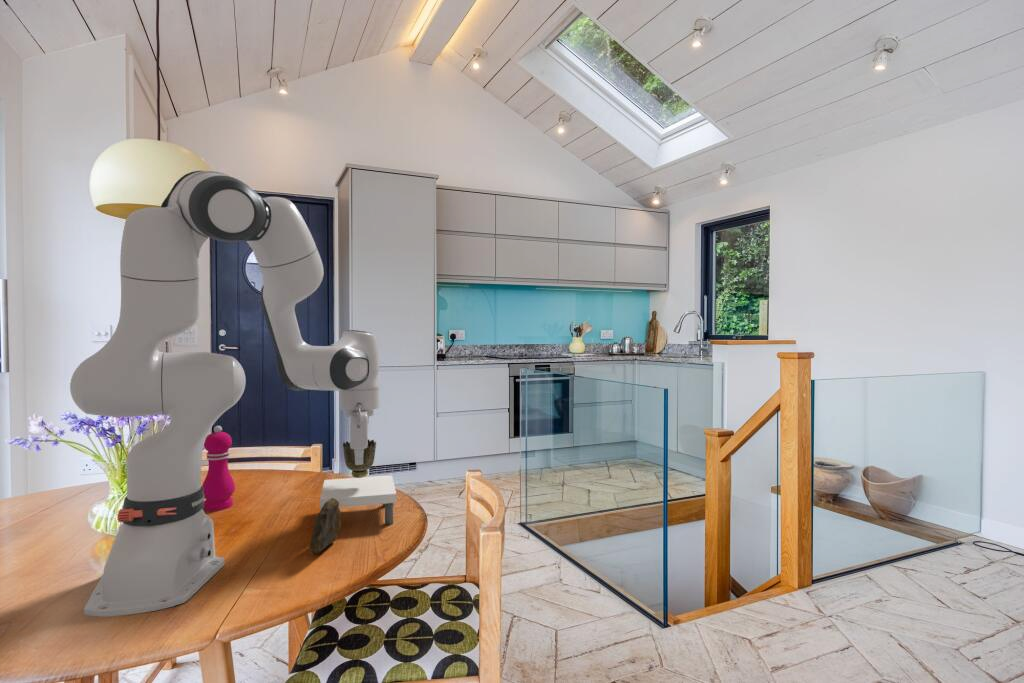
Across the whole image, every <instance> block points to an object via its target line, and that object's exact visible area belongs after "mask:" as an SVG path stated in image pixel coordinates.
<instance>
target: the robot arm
mask: <svg viewBox="0 0 1024 683" xmlns="http://www.w3.org/2000/svg"><path fill="white" fill-rule="evenodd" d="M306 223H307V222H305V219H304V218H303V216H302V214H301V212H300V211H299V209H298V208H297V205H295V204H294V203H293V202H292V201H291V200H290V199H287V198H285V197H281V196H280V197H279V196H266V197H262V196H261V195H259V193H257V192H256V191H255V190H254V189H253V188H252V187H250V186H249V185H248V184H246V183H245V182H243V181H241V180H240V179H238V178H235V177H233V176H229V175H228V174H225V173H223V172H219V171H213V170H195V171H190V172H189V173H185V174H184V175H182V176H181V177H180V178H179V179H178V180H177V181H176V182H175V183H174V185H173V186H172V188H171V190H170V191H169V193H168V194H167V196H166V197H165V199H164V200H163V202H162V203H161V206H160V207H159V206H158V207H157V206H150V207H149V206H148V207H143V208H140V209H137V210H134V211H133V212H131V213H130V214H129V215H127V218H126V219H125V222H124V226H123V231H122V237H121V244H120V257H119V259H120V260H119V267H120V268H119V270H120V273H119V274H120V309H119V310H120V312H119V317H118V318H119V319H118V323H117V326H116V328H115V331H114V333H113V334H112V335H111V337H110V338H109V340H108V341H107V342H106V344H104V345H103V347H101V348H100V349H99V350H98V351H97V352H95V353H94V354H92V355H91V356H89V357H87V358H85V359H84V360H83V361H82V362H80V364H79V365H78V366H77V367H76V369H75V370H74V372H73V373H72V375H71V379H70V384H69V385H70V386H69V391H70V394H71V395H70V396H71V397H72V400H73V402H74V403H75V405H76V406H77V407H78V409H80V411H81V412H83V413H84V414H86V415H90V416H91V415H92V416H100V417H112V418H126V417H127V418H129V417H130V418H131V417H144V416H146V417H147V416H161V415H162V416H163V415H164V416H168V417H169V418H170V420H169V423H168V424H167V426H166V427H165V428H163V429H162V430H160V431H157V432H155V433H153V434H151V435H150V436H149V435H148V436H147V437H145V438H143V439H141V441H140V440H139V441H138V442H137V443H136V444H134V446H132V448H130V451H128V453H127V456H126V496H125V497H124V499H123V505H122V508H120V509H119V510H118V511H117V515H116V518H117V522H118V523H122V524H121V525H120V526H119V527H118V531H117V533H116V536H115V539H114V541H113V543H112V546H111V548H110V551H109V554H108V556H107V559H106V562H105V565H104V568H103V573H102V575H101V577H100V578H99V580H98V583H97V584H96V585H95V588H94V589H93V591H92V593H91V595H90V597H89V598H88V600H87V602H86V604H85V605H84V607H83V614H84V615H86V616H89V617H90V616H92V617H119V616H128V615H135V614H143V613H148V612H150V613H151V612H154V611H159V610H165V609H168V608H171V607H175V606H178V605H181V604H184V603H186V602H187V601H188V600H189V599H190V598H191V597H193V595H194V594H196V592H198V591H199V590H200V589H201V588H202V587H203V586H204V585H205V584H206V583H207V582H208V581H210V579H211V578H213V577H214V576H215V575H216V573H218V572H219V571H220V570H221V569H222V568H223V567H224V566H225V564H226V563H225V562H226V561H225V558H224V557H221V556H217V555H216V547H215V546H216V545H215V532H214V531H215V530H214V529H215V528H214V520H213V519H212V518H211V517H209V516H208V515H207V514H206V513H205V510H204V501H205V500H206V499H205V496H204V490H203V487H202V460H203V458H202V457H203V450H204V443H205V439H206V437H207V436H208V435H209V432H210V430H211V429H212V427H213V426H214V424H215V423H216V422H217V421H218V419H219V418H221V417H222V415H223V414H224V413H225V412H227V411H228V410H229V409H231V408H232V407H233V406H235V405H236V404H237V403H238V401H240V399H241V398H242V397H243V396H242V395H243V394H244V392H245V389H246V383H247V382H246V381H247V380H246V379H247V378H246V374H245V370H244V368H243V366H242V364H241V363H240V362H239V361H238V360H237V359H236V358H235V356H234V357H233V356H232V355H227V354H222V353H215V352H209V351H207V352H206V351H195V352H194V351H193V352H192V351H191V352H190V351H189V352H187V351H186V352H184V351H183V352H182V351H181V352H179V351H178V352H176V351H175V352H164V351H160V350H159V349H158V346H159V345H160V344H161V343H163V342H164V341H165V340H168V339H169V338H172V337H174V336H178V335H180V334H182V333H184V332H186V331H188V330H189V329H190V328H192V327H193V326H194V325H195V324H196V323H197V322H198V319H199V316H200V276H199V275H200V272H199V270H200V269H199V258H200V252H201V250H202V249H201V248H202V246H203V244H205V242H206V241H207V240H208V239H211V240H214V241H218V242H224V243H236V242H237V243H238V242H246V243H247V244H248V246H249V248H250V249H251V250H252V252H253V255H254V257H255V260H256V263H257V264H258V267H259V270H260V273H261V276H262V280H263V285H262V287H261V289H260V301H261V308H262V311H263V315H264V318H265V321H266V325H267V328H268V331H269V335H270V338H271V342H272V345H273V348H274V351H275V352H274V353H275V357H276V366H277V372H278V376H279V379H280V381H281V382H282V384H283V385H284V386H285V387H286V388H287V389H289V390H291V391H298V392H299V391H310V390H311V391H313V390H314V391H324V392H325V391H326V392H327V391H332V392H333V391H336V392H337V391H338V392H339V395H338V396H339V397H338V398H339V399H338V400H339V401H338V403H339V404H338V405H339V406H338V408H339V410H341V411H344V417H347V418H349V443H350V448H351V449H354V454H355V464H356V465H362V464H363V455H364V449H365V448H367V445H368V437H369V433H368V431H369V430H368V429H369V422H370V417H371V416H374V410H375V409H376V410H377V409H379V408H380V385H379V381H378V374H379V370H380V355H379V352H380V351H379V345H378V341H377V336H376V335H375V334H373V333H371V332H368V331H365V330H359V329H357V330H356V329H355V330H353V329H349V330H345V331H342V334H341V337H340V339H338V340H337V341H335V342H334V343H332V344H330V345H327V346H325V345H312V344H309V343H307V342H305V341H304V340H303V338H302V335H301V330H300V327H299V323H298V319H297V316H296V315H297V314H296V311H295V308H296V304H298V303H300V302H302V301H303V300H305V299H306V298H308V297H309V296H312V294H314V292H316V291H317V289H318V288H319V287H320V285H321V283H322V282H323V279H324V275H325V274H324V272H325V271H324V264H323V261H322V258H321V255H320V252H319V250H318V247H317V246H316V245H317V244H316V242H315V240H314V237H313V236H312V233H311V231H310V229H309V227H308V225H307V224H306Z"/></svg>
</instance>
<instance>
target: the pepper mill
mask: <svg viewBox="0 0 1024 683" xmlns="http://www.w3.org/2000/svg"><path fill="white" fill-rule="evenodd" d="M213 431H214V432H212V433H210V434H209V433H208V435H207V437H206V439H205V443H204V446H203V449H205V450H206V451H207V452H206V460H208V469H207V474H206V476H205V479H204V480H203V482H202V484H201V486H202V487H203V490H204V496H205V499H204V507H203V510H204V511H212V512H214V511H224V510H226V509H230V508H232V507H233V505H234V498H233V497H232V496H233V494H234V492H235V490H236V485H235V480H234V478H233V477H232V474H231V472H230V470H229V463H228V461H229V458H230V456H231V455H230V453H231V452H230V450H229V449H230V448H231V447H232V444H233V440H232V437H231V435H230V434H229V433H227V432H224V431H223V428H222V426H221V425H216V426H214V427H213Z"/></svg>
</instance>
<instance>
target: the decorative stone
mask: <svg viewBox="0 0 1024 683" xmlns="http://www.w3.org/2000/svg"><path fill="white" fill-rule="evenodd" d="M338 506H339V502H338V501H337V500H336V499H334V498H331V499H329V500H328V501H327V502H325V504H324V506H323V507H322V509H320V510H319V513H317V516H316V519H315V522H314V524H313V531H312V533H311V540H310V543H309V544H310V545H309V549H310V550H312V551H313V553H314V554H319V553H320V552H322V550H324V549H325V548H327V547H328V545H330V544H333V543H335V541H336V540H337V538H338V535H339V532H340V530H341V527H342V519H341V518H342V517H341V510H340V507H338Z"/></svg>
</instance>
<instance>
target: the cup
mask: <svg viewBox="0 0 1024 683" xmlns="http://www.w3.org/2000/svg"><path fill="white" fill-rule="evenodd" d="M376 447H377V442H376V441H375V440H374V439H371V440H370V439H368V445H367V448H365V449H364V455H363V464H362V465H356V464H355V454H354V449H351V448H350V442H348V441H346V442H343V443H342V448H343V457H344V462H345V466H346V467H347V469H348V470H350V471H351V477H352V478H363V477H368V474H369V471H368V470H370V469H371V467H372V466H373V464H374V462H375V456H376V449H377V448H376Z"/></svg>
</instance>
